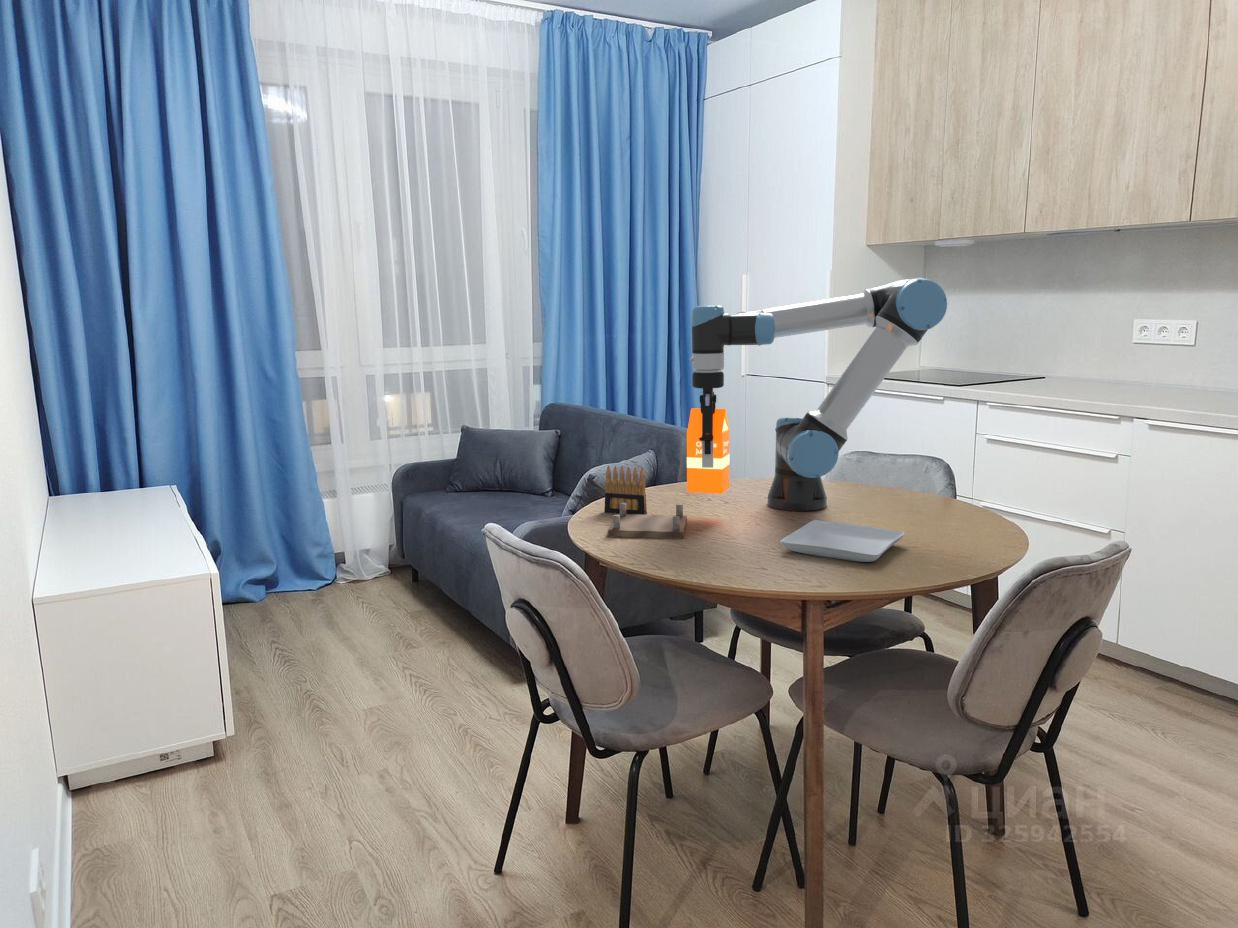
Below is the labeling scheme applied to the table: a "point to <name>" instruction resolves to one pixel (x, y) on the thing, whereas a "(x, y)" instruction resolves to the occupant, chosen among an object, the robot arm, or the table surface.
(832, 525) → the salad plate
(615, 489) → the ammunition clip
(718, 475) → the orange juice
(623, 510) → the peg stand
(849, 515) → the table surface
